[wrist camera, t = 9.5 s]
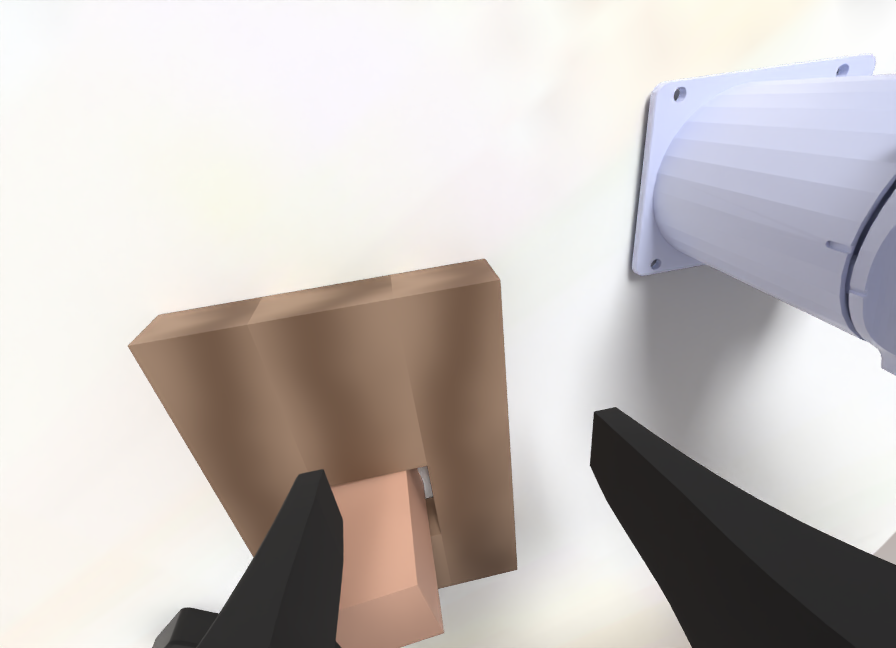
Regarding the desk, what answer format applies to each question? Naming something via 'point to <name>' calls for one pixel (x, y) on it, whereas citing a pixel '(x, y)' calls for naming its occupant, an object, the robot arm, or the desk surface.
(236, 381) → the pin plate
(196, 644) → the multiport hub
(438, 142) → the desk surface
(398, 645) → the pin
